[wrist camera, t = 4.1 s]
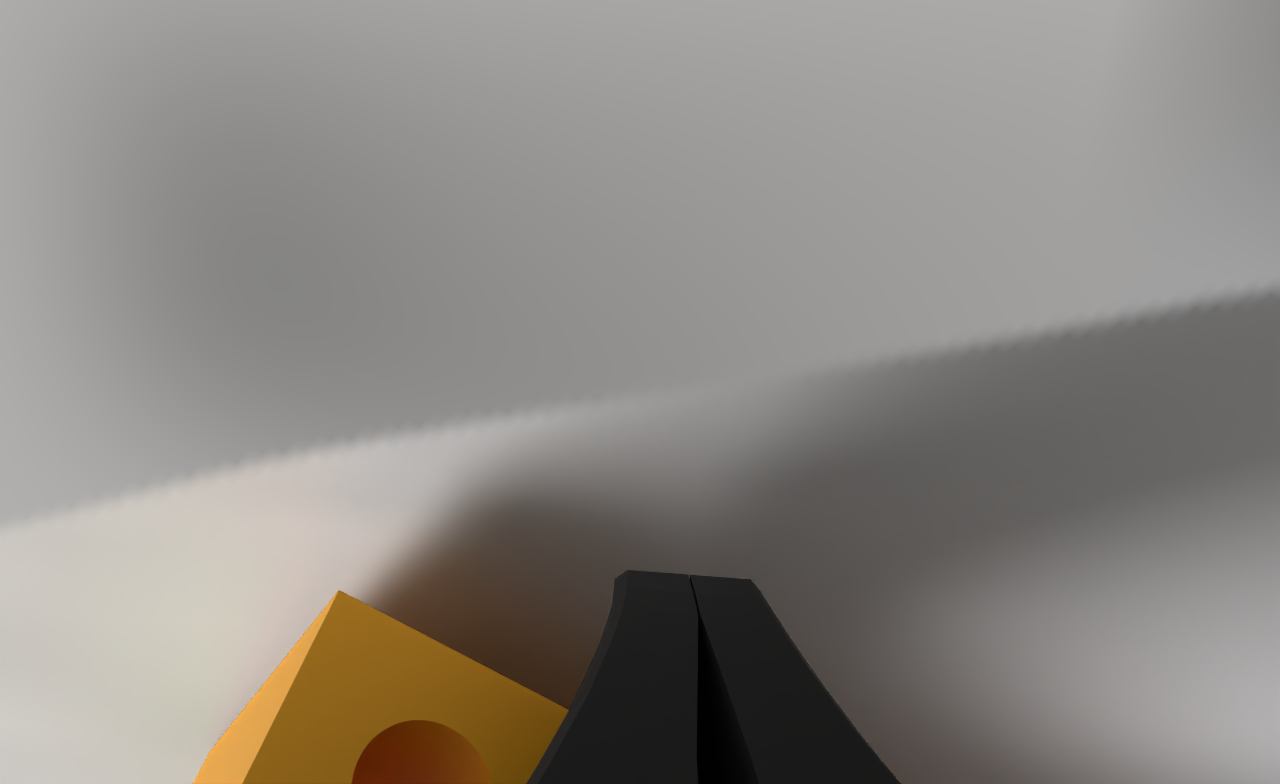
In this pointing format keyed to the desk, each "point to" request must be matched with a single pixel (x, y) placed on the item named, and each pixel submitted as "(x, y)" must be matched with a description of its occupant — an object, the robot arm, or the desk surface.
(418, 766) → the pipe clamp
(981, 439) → the desk surface
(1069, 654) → the desk surface
